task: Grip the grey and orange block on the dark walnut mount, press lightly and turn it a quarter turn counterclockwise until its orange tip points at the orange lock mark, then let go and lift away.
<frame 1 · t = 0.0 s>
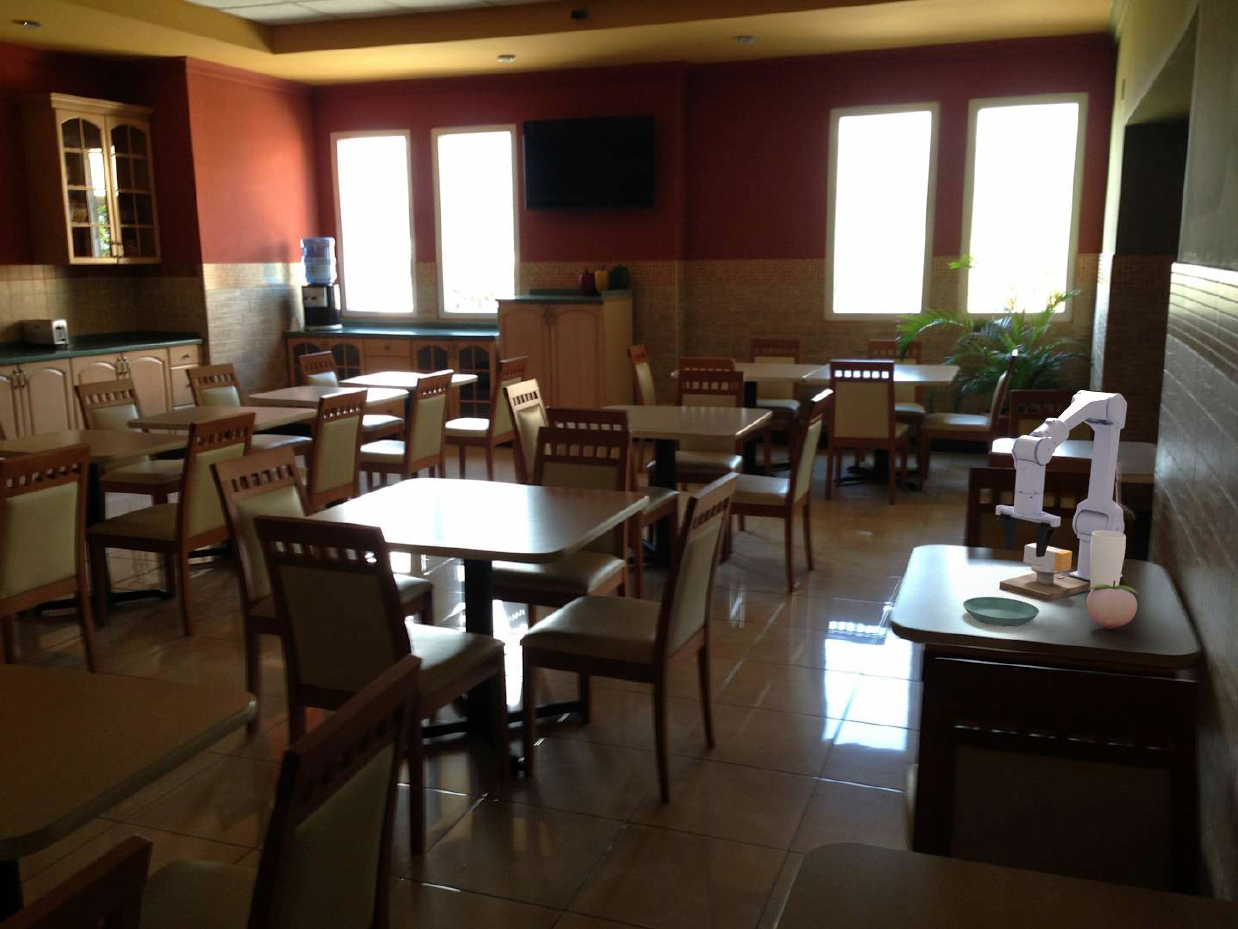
hand: (1024, 552, 225), 10 cm above the table, tool pointing down, fingers open, 7 cm apart
saucer: (999, 620, 213), on the table
grey and orange block: (1047, 559, 231), point 7 cm above the table, hinge at 0.0°
mount plate: (1044, 588, 233), on the table
decorative fruit: (1110, 630, 206), on the table
drinking glass: (1102, 602, 224), on the table
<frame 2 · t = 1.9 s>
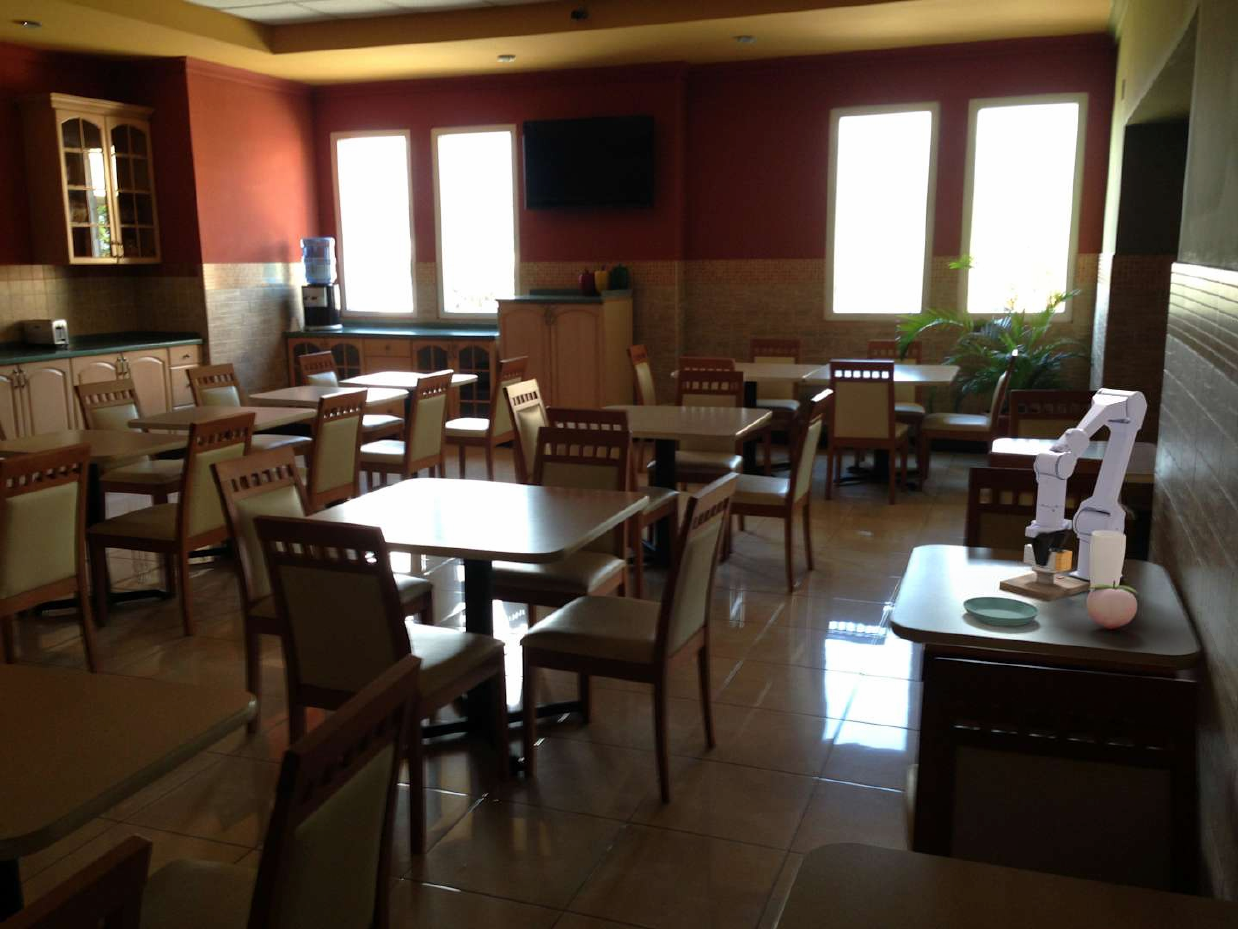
hand: (1046, 563, 232), 6 cm above the table, tool pointing down, fingers closed on grey and orange block, 4 cm apart
grey and orange block: (1047, 559, 231), point 7 cm above the table, hinge at 0.0°, touching gripper
everything else where it was.
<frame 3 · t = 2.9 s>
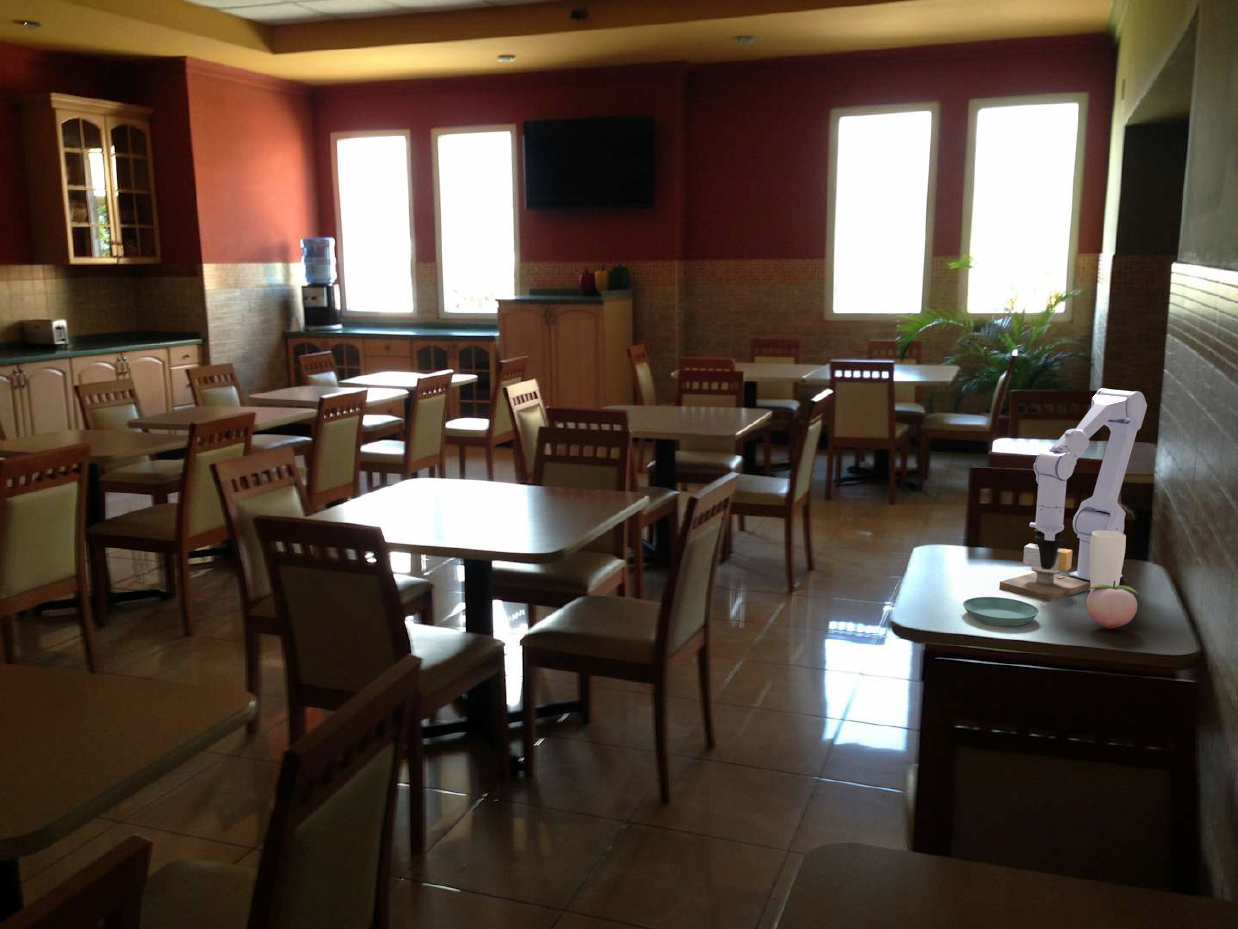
hand: (1045, 564, 232), 6 cm above the table, tool pointing down, fingers closed on grey and orange block, 5 cm apart
grey and orange block: (1047, 559, 231), point 7 cm above the table, hinge at 15.0°, touching gripper
everything else where it was.
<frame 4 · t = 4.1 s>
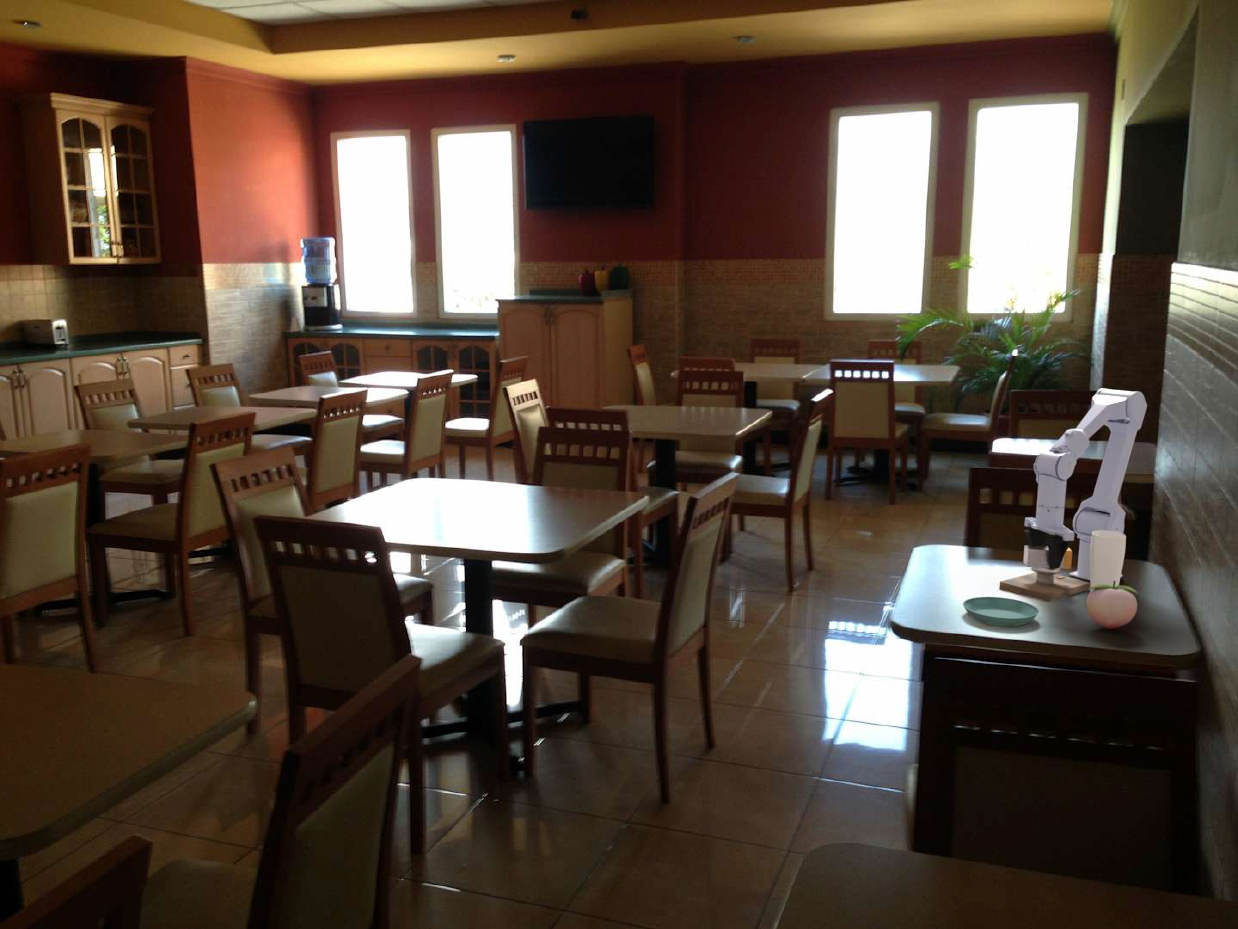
hand: (1045, 564, 232), 6 cm above the table, tool pointing down, fingers closed on grey and orange block, 5 cm apart
grey and orange block: (1047, 559, 232), point 7 cm above the table, hinge at 46.9°, touching gripper
everything else where it was.
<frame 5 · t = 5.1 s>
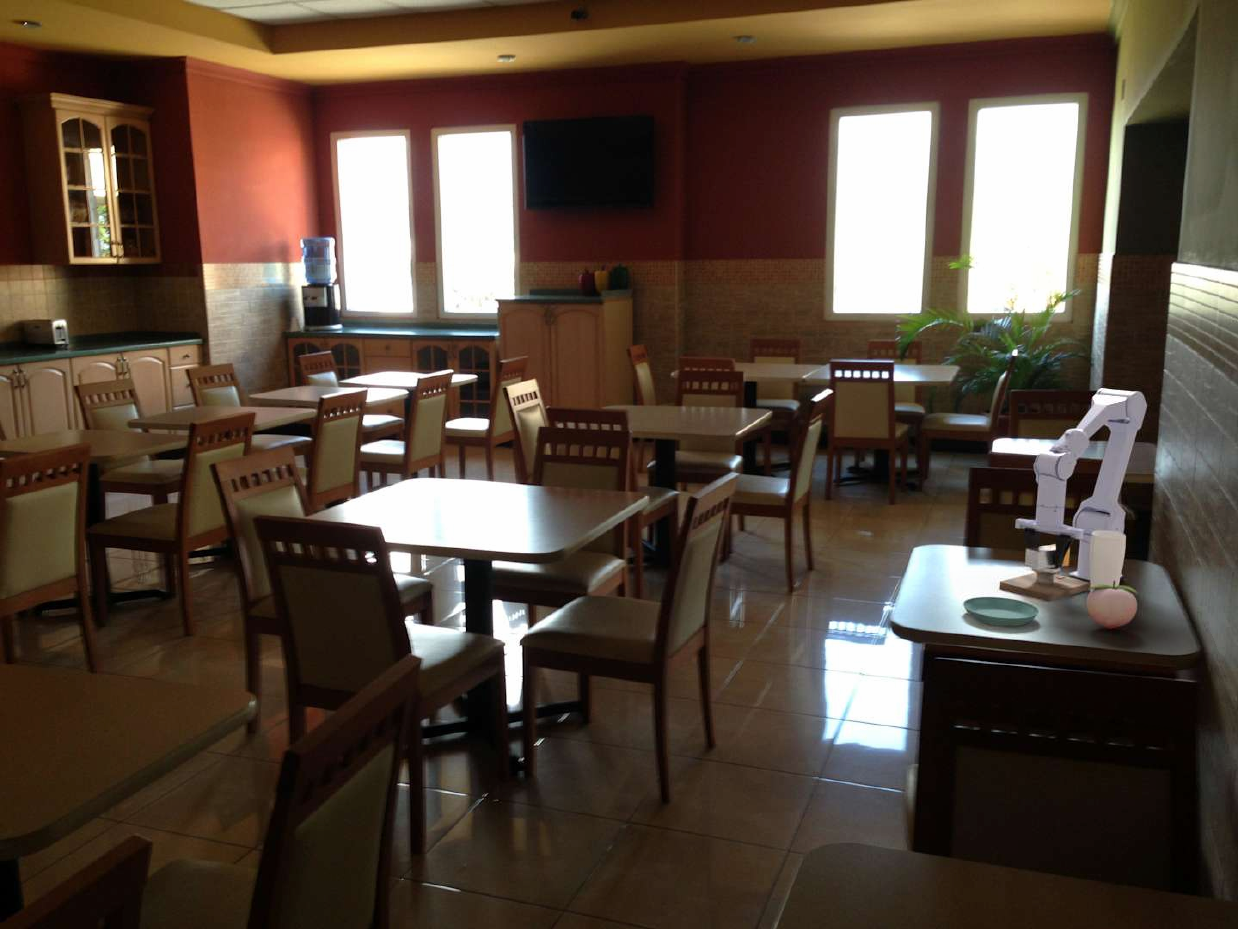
hand: (1045, 564, 232), 6 cm above the table, tool pointing down, fingers closed on grey and orange block, 5 cm apart
grey and orange block: (1047, 559, 232), point 7 cm above the table, hinge at 79.4°, touching gripper
everything else where it was.
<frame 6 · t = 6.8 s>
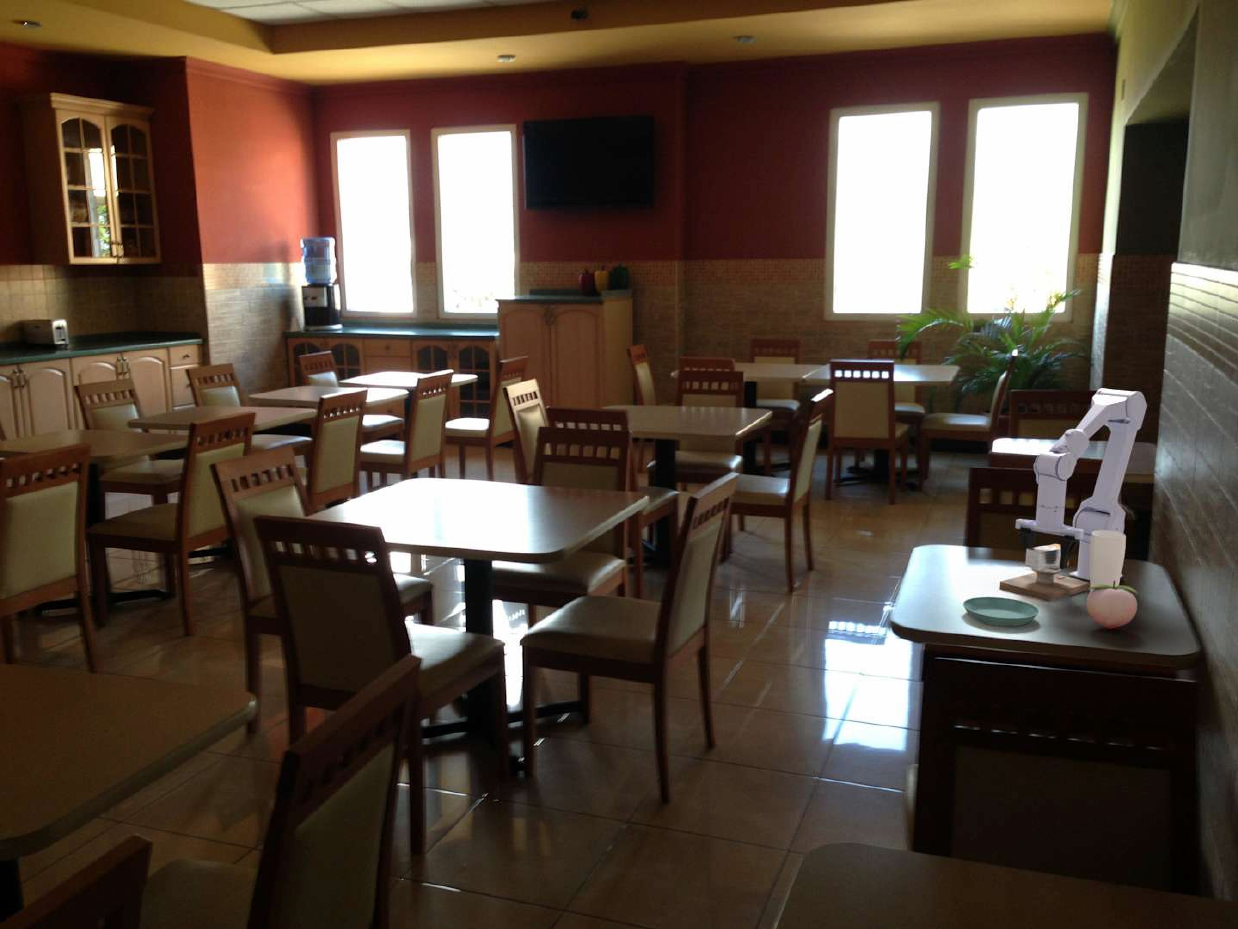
hand: (1046, 564, 232), 6 cm above the table, tool pointing down, fingers open, 7 cm apart
grey and orange block: (1047, 559, 232), point 7 cm above the table, hinge at 81.2°
everything else where it was.
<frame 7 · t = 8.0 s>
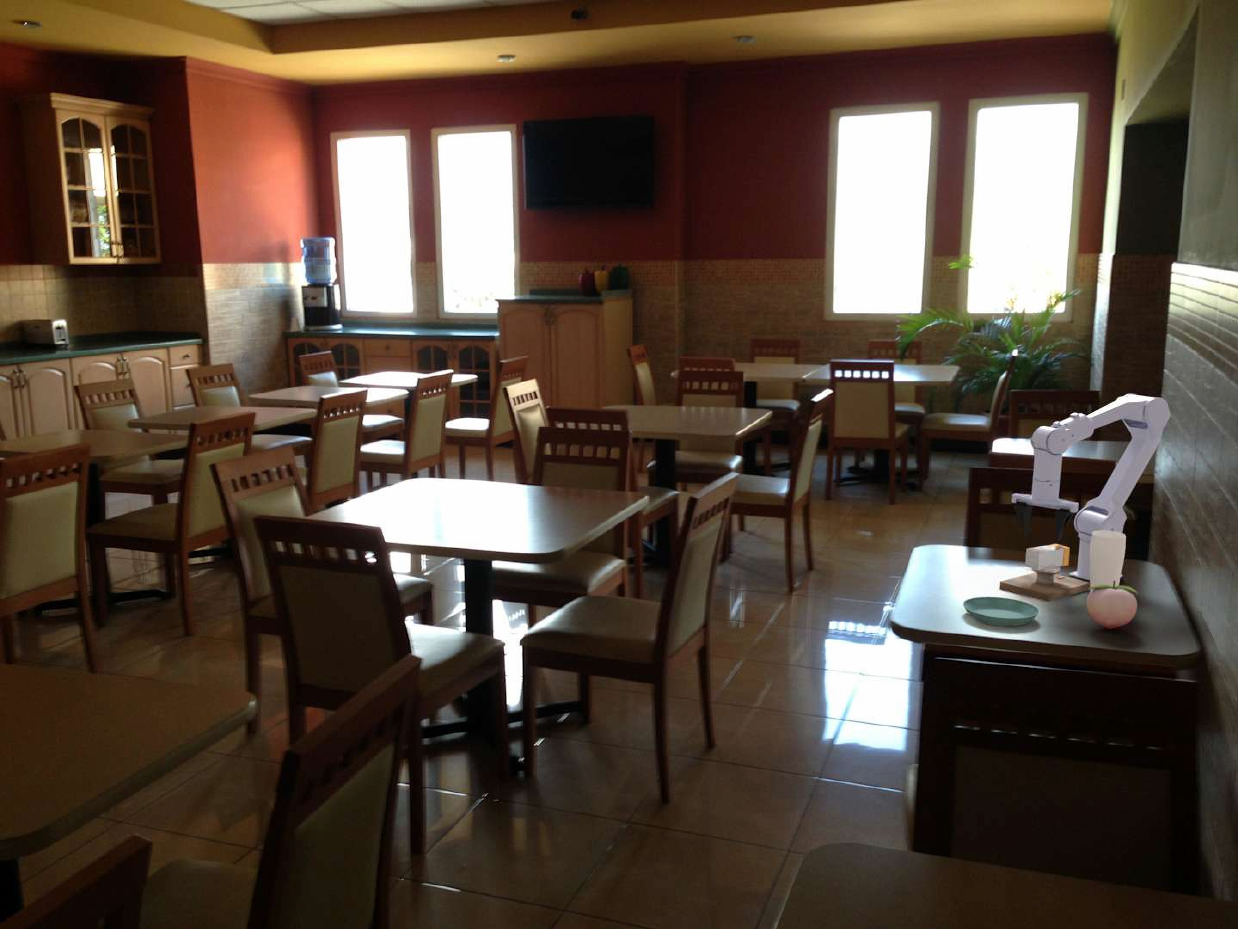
hand: (1041, 537, 236), 10 cm above the table, tool pointing down, fingers open, 7 cm apart
nothing on the table moved.
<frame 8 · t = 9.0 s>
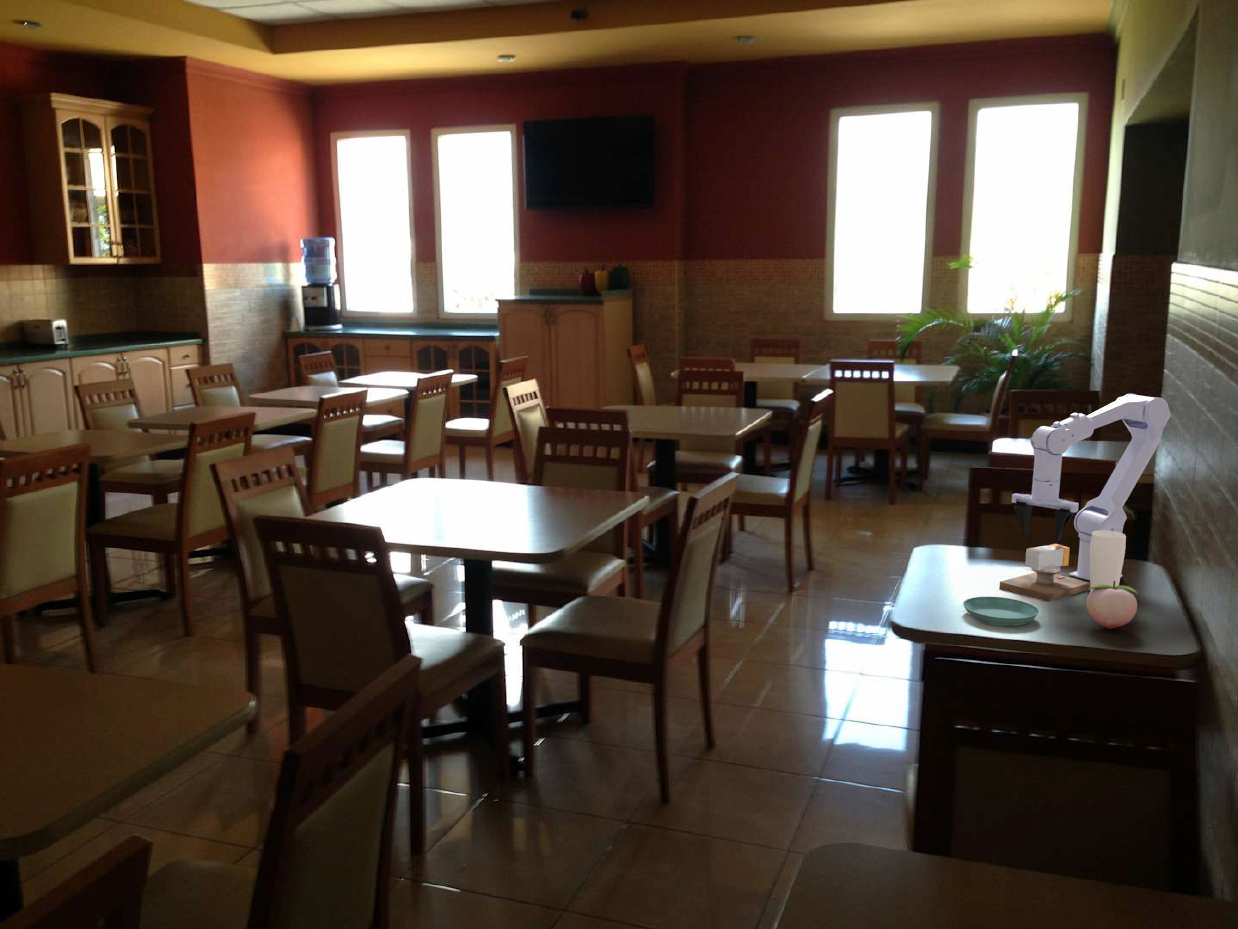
hand: (1041, 537, 236), 10 cm above the table, tool pointing down, fingers open, 7 cm apart
nothing on the table moved.
at the end: grey and orange block at +81° (first picture: +0°); drinking glass moved 0.2 cm from its start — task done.
